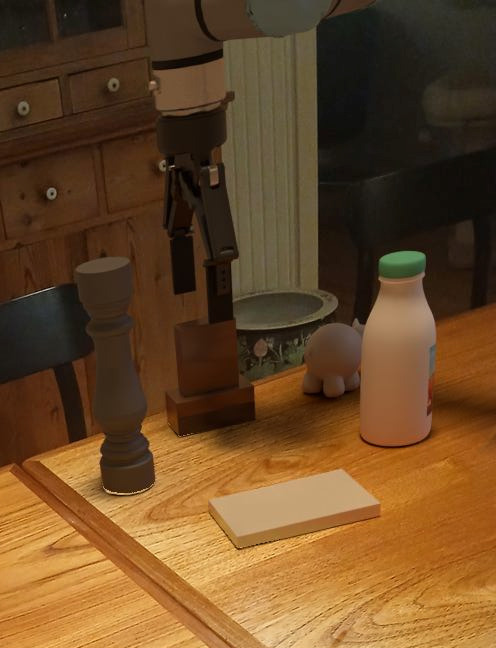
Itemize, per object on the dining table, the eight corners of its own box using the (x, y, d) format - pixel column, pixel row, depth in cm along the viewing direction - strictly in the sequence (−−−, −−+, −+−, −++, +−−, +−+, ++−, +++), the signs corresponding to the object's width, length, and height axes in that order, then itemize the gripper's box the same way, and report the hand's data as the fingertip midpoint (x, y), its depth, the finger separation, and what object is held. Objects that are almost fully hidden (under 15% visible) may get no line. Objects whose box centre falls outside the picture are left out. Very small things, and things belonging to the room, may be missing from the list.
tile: (341, 480, 107) (342, 468, 106) (380, 515, 99) (381, 502, 98) (208, 512, 106) (207, 499, 105) (237, 549, 99) (237, 536, 98)
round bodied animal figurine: (401, 375, 127) (404, 309, 123) (333, 405, 123) (334, 338, 119) (358, 364, 133) (360, 300, 128) (292, 393, 129) (291, 328, 124)
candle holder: (153, 468, 117) (130, 252, 104) (157, 491, 112) (134, 267, 98) (101, 476, 118) (72, 262, 104) (103, 499, 113) (73, 277, 99)
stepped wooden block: (241, 406, 128) (237, 306, 121) (255, 419, 124) (251, 317, 117) (167, 423, 128) (158, 324, 120) (179, 437, 123) (170, 335, 116)
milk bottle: (416, 451, 109) (427, 267, 98) (348, 444, 114) (351, 266, 103) (440, 423, 114) (452, 245, 103) (373, 417, 118) (379, 245, 107)
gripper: (126, 105, 116) (143, 287, 128) (192, 127, 95) (205, 342, 107) (188, 92, 116) (199, 275, 128) (266, 111, 96) (271, 327, 107)
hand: (202, 306), depth 118 cm, fingers open, 13 cm apart
